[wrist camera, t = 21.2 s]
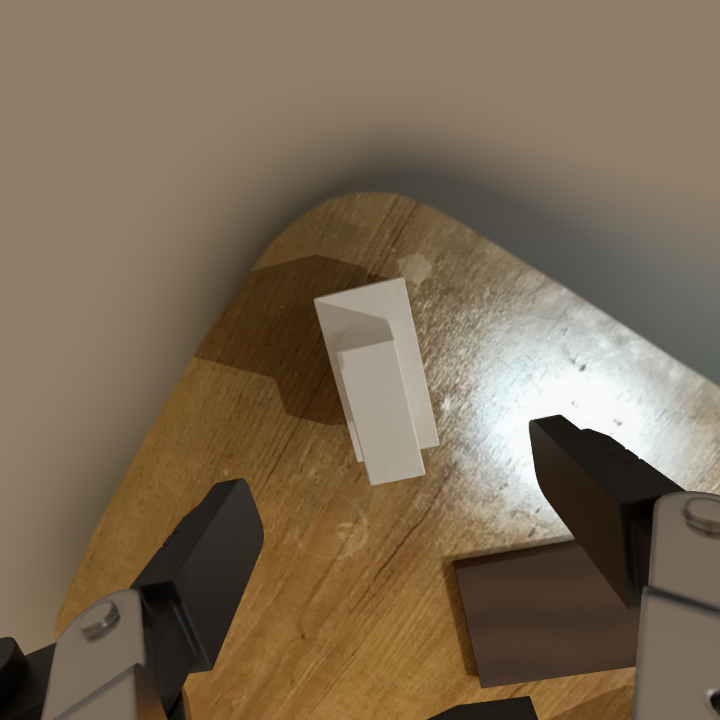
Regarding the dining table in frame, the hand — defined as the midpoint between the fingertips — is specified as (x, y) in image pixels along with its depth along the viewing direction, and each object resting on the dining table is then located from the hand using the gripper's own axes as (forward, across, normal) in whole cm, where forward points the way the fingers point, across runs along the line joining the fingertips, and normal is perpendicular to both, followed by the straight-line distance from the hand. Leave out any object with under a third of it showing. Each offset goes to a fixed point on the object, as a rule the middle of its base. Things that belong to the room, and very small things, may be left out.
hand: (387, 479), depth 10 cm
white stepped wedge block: (+15, 0, 0) cm, 15 cm away
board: (+15, -10, +23) cm, 29 cm away
